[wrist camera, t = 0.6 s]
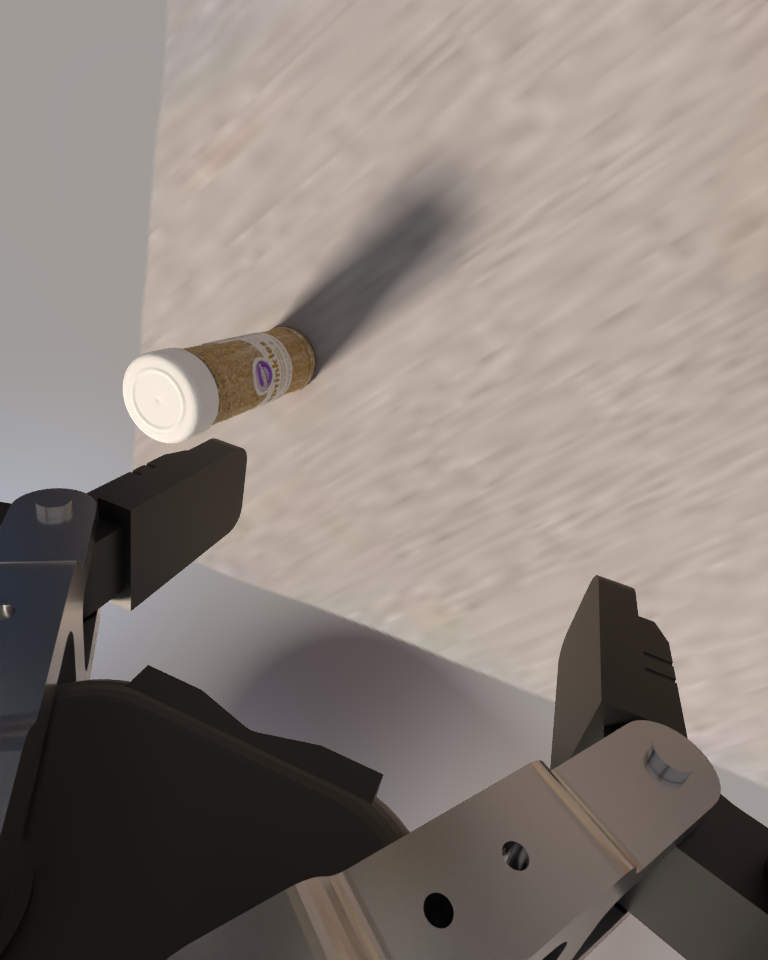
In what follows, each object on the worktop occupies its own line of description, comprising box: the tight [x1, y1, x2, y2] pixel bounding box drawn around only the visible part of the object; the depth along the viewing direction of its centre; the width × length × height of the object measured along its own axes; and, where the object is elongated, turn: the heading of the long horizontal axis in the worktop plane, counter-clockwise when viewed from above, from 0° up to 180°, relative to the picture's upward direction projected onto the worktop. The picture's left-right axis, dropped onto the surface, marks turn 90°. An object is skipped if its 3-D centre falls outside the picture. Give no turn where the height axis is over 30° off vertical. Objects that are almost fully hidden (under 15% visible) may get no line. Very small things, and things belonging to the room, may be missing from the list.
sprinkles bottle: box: [123, 327, 315, 443], centre depth 33 cm, size 5×5×14 cm
